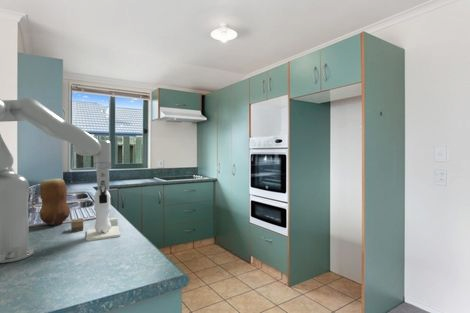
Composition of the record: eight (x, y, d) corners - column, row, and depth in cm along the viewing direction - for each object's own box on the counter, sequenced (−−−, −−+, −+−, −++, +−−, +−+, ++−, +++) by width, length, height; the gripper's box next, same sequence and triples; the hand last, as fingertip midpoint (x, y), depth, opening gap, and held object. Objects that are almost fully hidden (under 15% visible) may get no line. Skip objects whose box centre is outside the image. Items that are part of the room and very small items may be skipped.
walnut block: (83, 230, 135) (82, 220, 135) (71, 232, 133) (71, 222, 133) (83, 228, 139) (83, 218, 139) (72, 229, 137) (72, 219, 137)
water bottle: (92, 234, 125) (92, 180, 125) (96, 230, 132) (95, 179, 132) (109, 233, 127) (108, 180, 127) (112, 229, 134) (111, 179, 134)
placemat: (120, 236, 126) (120, 234, 126) (86, 241, 119) (86, 239, 119) (118, 227, 140) (117, 225, 140) (87, 231, 134) (87, 229, 134)
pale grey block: (117, 226, 143) (117, 218, 143) (109, 227, 141) (109, 219, 141) (117, 224, 146) (117, 217, 146) (109, 225, 144) (108, 218, 144)
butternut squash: (50, 221, 152) (49, 177, 152) (74, 220, 153) (73, 177, 153) (33, 228, 139) (32, 180, 138) (60, 227, 140) (59, 179, 139)
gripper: (111, 166, 123) (112, 203, 123) (110, 164, 138) (110, 197, 139) (93, 167, 119) (93, 205, 120) (93, 165, 135) (94, 199, 135)
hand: (102, 201), depth 129 cm, fingers open, 9 cm apart
